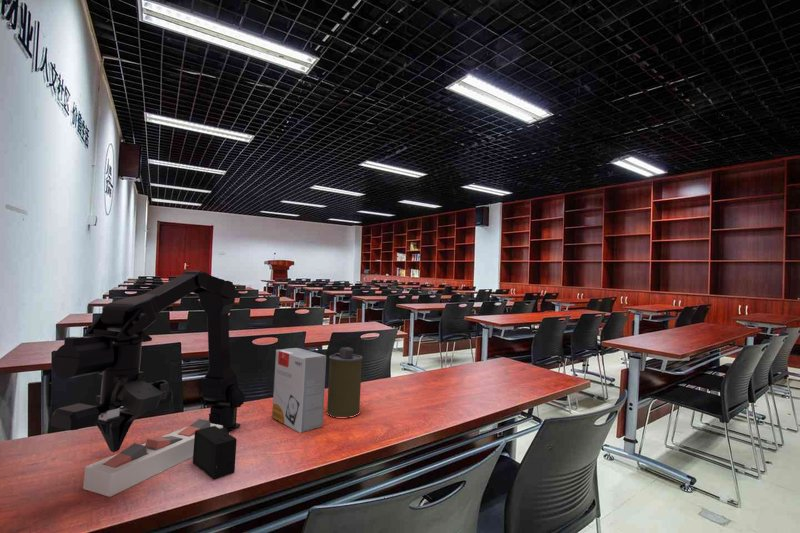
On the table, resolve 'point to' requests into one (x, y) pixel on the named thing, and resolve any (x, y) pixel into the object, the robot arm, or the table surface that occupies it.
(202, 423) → the rocker
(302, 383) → the hard drive box
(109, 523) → the table surface
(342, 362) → the canister
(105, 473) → the rocker switch panel
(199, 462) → the black cubic block
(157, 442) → the rocker
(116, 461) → the rocker
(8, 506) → the table surface
